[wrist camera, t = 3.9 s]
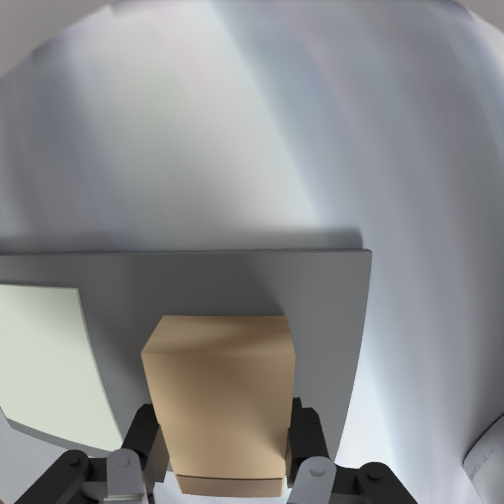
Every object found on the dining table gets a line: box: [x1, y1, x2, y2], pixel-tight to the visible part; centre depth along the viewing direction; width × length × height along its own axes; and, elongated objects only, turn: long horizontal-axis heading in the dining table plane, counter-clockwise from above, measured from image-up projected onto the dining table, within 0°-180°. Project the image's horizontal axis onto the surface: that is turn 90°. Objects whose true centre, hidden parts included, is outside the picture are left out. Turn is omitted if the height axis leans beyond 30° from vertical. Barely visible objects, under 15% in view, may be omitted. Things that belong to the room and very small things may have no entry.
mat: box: [0, 249, 372, 475], centre depth 13 cm, size 24×14×1 cm, turn 91°
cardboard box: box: [141, 315, 296, 498], centre depth 12 cm, size 5×9×3 cm, turn 1°
